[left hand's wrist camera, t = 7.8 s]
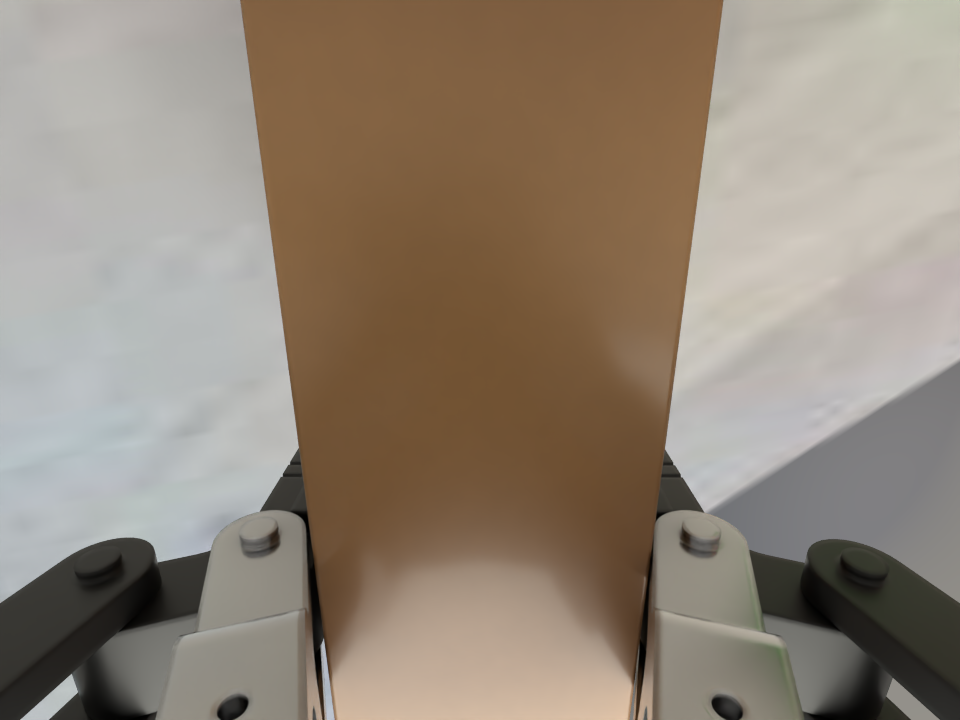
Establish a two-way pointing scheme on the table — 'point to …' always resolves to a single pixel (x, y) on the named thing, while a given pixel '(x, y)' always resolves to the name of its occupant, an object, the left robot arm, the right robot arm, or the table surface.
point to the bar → (481, 330)
